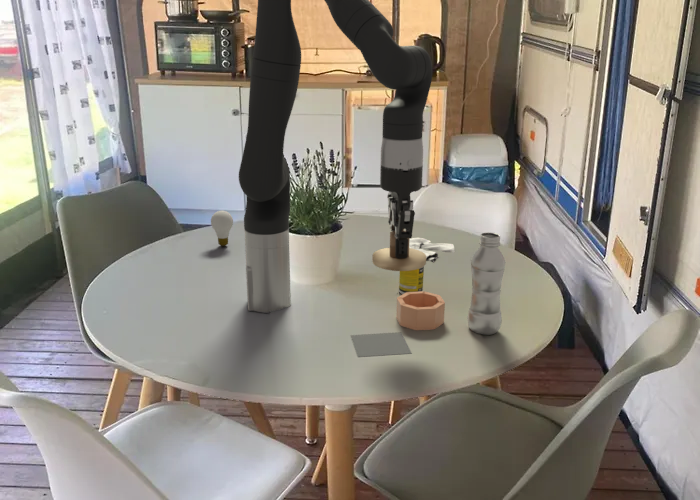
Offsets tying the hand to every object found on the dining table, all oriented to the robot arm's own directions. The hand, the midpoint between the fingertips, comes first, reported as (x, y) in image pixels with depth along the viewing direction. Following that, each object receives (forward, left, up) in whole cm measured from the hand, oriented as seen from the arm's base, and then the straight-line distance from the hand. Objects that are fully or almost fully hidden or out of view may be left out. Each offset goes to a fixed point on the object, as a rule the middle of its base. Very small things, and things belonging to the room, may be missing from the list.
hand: (399, 253), depth 127 cm
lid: (0, 0, -2) cm, 2 cm away
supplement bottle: (+8, +23, -17) cm, 30 cm away
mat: (-4, -3, -17) cm, 18 cm away
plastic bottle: (+18, 0, -17) cm, 25 cm away
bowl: (+6, +6, -17) cm, 19 cm away
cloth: (+19, +50, -18) cm, 56 cm away
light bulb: (-35, +62, -17) cm, 73 cm away
